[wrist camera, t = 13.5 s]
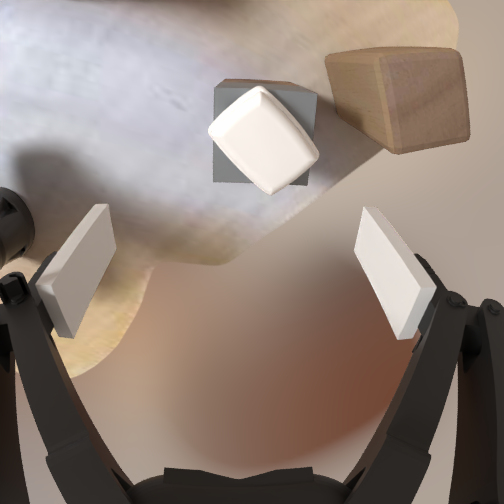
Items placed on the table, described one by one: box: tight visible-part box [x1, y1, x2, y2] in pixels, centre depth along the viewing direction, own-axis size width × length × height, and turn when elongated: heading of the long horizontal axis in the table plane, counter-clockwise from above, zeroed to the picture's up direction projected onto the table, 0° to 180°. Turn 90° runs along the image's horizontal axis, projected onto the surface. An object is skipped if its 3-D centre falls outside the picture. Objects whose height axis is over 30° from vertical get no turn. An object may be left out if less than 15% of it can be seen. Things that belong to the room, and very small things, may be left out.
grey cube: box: [213, 82, 317, 186], centre depth 32 cm, size 9×9×9 cm
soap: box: [208, 86, 319, 195], centre depth 27 cm, size 9×7×3 cm
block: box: [325, 47, 470, 155], centre depth 32 cm, size 10×10×20 cm
